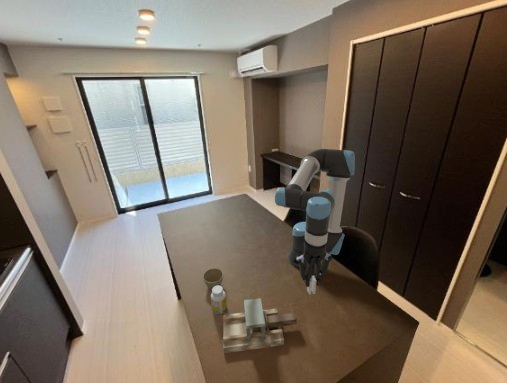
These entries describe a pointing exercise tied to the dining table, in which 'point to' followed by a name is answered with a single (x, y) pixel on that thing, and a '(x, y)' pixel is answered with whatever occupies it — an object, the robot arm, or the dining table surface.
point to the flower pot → (213, 277)
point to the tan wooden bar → (277, 321)
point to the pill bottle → (218, 300)
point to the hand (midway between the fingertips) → (310, 291)
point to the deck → (249, 329)
